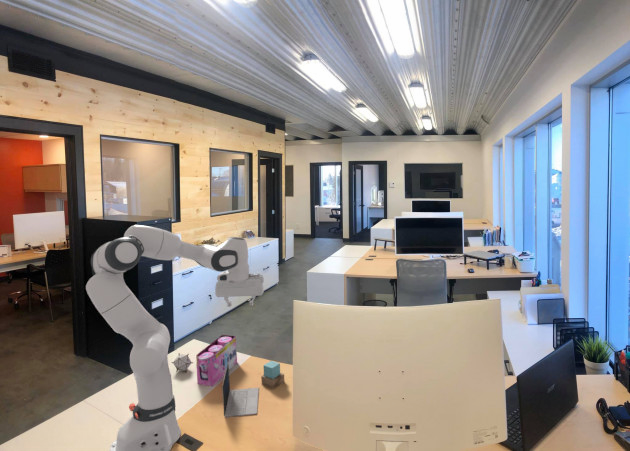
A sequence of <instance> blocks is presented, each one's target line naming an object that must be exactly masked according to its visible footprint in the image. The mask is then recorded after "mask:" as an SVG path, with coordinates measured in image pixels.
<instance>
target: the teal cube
mask: <svg viewBox="0 0 630 451" xmlns="http://www.w3.org/2000/svg"><path fill="white" fill-rule="evenodd" d="M280 373H281V363H279V362H276V361H274V360H270V361H268V362H267V363H265V364H263V375H264V376H265V377H268V378H270V379H274V378H276V377H277V376H278V375H280Z"/></svg>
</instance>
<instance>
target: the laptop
mask: <svg viewBox="0 0 630 451" xmlns="http://www.w3.org/2000/svg"><path fill="white" fill-rule="evenodd" d="M229 371H230V370H229V366H228V364H227V368H226V372H225V375H224V376H223V382H222V386H221V391H222V406H223V416H224V418H231V417H232V418H233V417H234V418H235V417H237V416H239V417H243V416H248V415H249V416H250V415H257V414H258V408H259V407H258V406H259V405H258V404H259V395H260V394H259V393H260V392H259V391H260V388H259V387H252V388H251V387H250V388H240V389H231V385H230V372H229Z"/></svg>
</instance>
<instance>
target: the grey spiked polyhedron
mask: <svg viewBox="0 0 630 451" xmlns="http://www.w3.org/2000/svg"><path fill="white" fill-rule="evenodd" d="M189 354H190V353H187V354H181V353H178V356H176V358H175V359H174V360H173V361H172V362H171V364H173V365H174V367H175V368H176V372H177V373H178V371H181V372H185V373H187V370H188V369H189V367H190V366H191V364H194V362H193V361H191V359H190V357H189Z"/></svg>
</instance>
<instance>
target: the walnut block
mask: <svg viewBox="0 0 630 451" xmlns="http://www.w3.org/2000/svg"><path fill="white" fill-rule="evenodd" d="M260 377H261V385H263V386H264V387H266V388H269V389H270V390H276V388H278V387H280V386H281V385H282V384H284V383H285V373H282V372H280V375H278V376H277V377H276V378H274V379H270V378H268V377H265V376H264V374H263V375H261V376H260Z"/></svg>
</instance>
